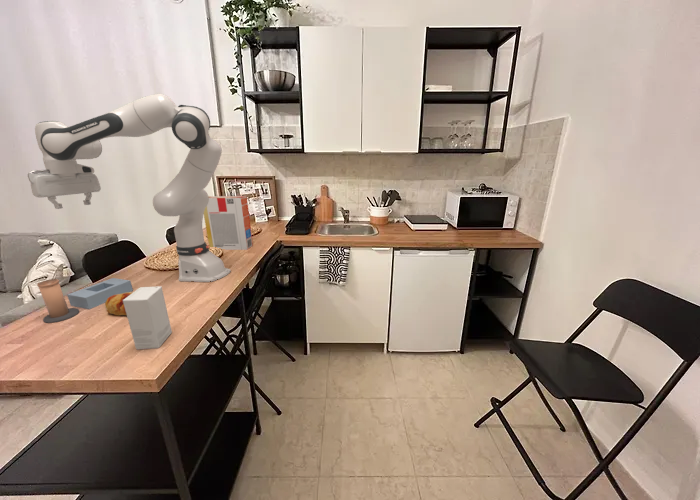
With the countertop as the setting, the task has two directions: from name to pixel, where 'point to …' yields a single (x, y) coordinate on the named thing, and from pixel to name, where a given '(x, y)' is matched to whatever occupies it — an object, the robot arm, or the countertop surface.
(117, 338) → the countertop surface
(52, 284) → the orange-brown cylinder
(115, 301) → the croissant
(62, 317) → the mat
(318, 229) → the countertop surface
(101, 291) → the pocket block
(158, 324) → the skincare box
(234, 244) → the pasta box
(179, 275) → the robot arm
